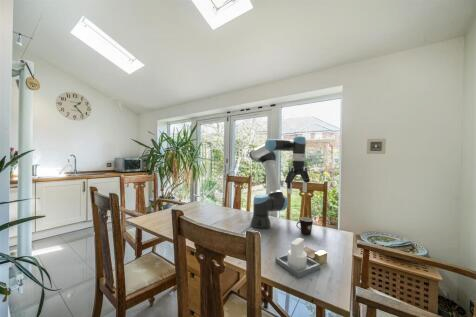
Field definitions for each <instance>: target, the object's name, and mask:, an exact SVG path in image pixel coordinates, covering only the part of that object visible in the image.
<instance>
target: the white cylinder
mask: <svg viewBox="0 0 476 317" xmlns="http://www.w3.org/2000/svg"><path fill="white" fill-rule="evenodd" d="M304 245H305V239H304V238H301V237H298V238H295V239H294V240H293V241H292V242H291V243H290V249H288V251H287V254H288V265H290V266H291V267H293V268H294V269H295V270H303V269H305V268H306V262H307V254H306V252H304V248H305V246H304Z"/></svg>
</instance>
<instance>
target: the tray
mask: <svg viewBox="0 0 476 317" xmlns="http://www.w3.org/2000/svg"><path fill="white" fill-rule="evenodd" d="M274 261H275V262H274V263H276V265H278V266H280V267H281V268H282V269H284V270H285V271H287V273H289V274H291V275H292V276H293V277H294V278H296V279H301V278H303V277H306V276H307V275H310V274H312V273H314V272H315V273H316V272H318V271H319V270H321V265H320V264H319V263H317V262H315V261H314V260H312V259H310V258H308V257H307V262H306V268H305V269H303V270H295V269H294V268H293V267H291V266H290V265H288V253H285V254H282V255H279V256H276V257H275V260H274Z"/></svg>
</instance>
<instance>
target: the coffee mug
mask: <svg viewBox="0 0 476 317" xmlns="http://www.w3.org/2000/svg"><path fill="white" fill-rule="evenodd" d="M313 222H314V219H313V218H310V217H300V218H299V221H298V222H296V227H297V229H299V230H300V234H302V235H303V236H311V235H312V229H313ZM299 224H300V227H299V226H298V225H299Z"/></svg>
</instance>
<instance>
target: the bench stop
mask: <svg viewBox="0 0 476 317" xmlns="http://www.w3.org/2000/svg"><path fill="white" fill-rule="evenodd" d="M314 261H315V262H317V263H319V264H320V266H321V265H323V264H326V263H327V262H328V252H326V251H325V250H323V249H321V250H318V251H316V253H315V258H314Z"/></svg>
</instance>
